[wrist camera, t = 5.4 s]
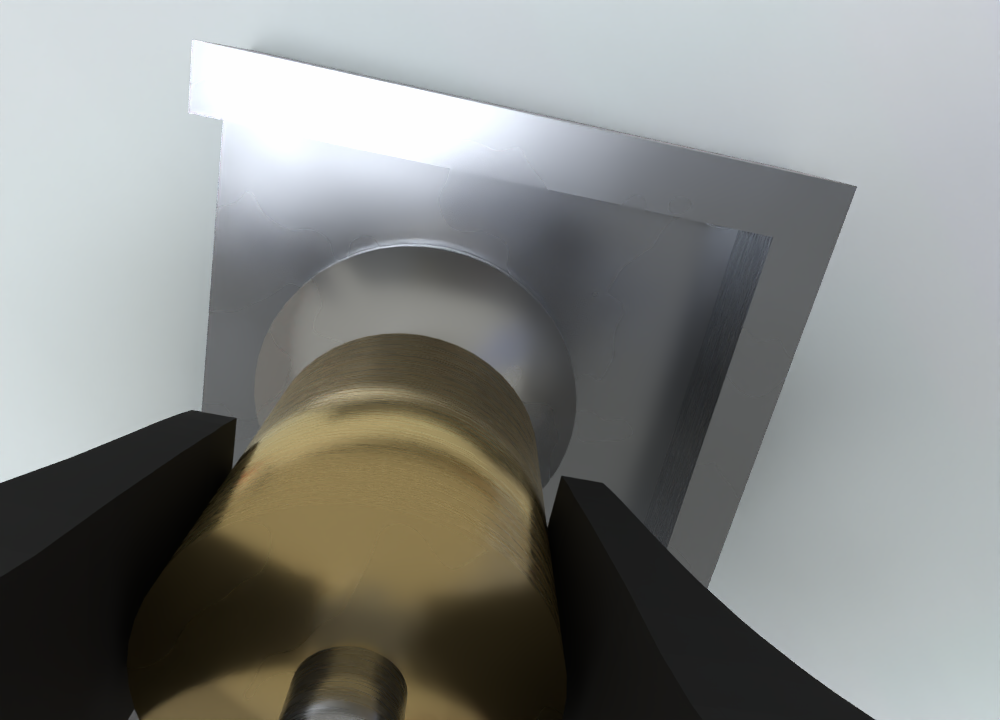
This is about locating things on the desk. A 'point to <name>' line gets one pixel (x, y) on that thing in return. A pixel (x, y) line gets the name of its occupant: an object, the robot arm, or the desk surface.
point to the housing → (366, 556)
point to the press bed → (515, 272)
